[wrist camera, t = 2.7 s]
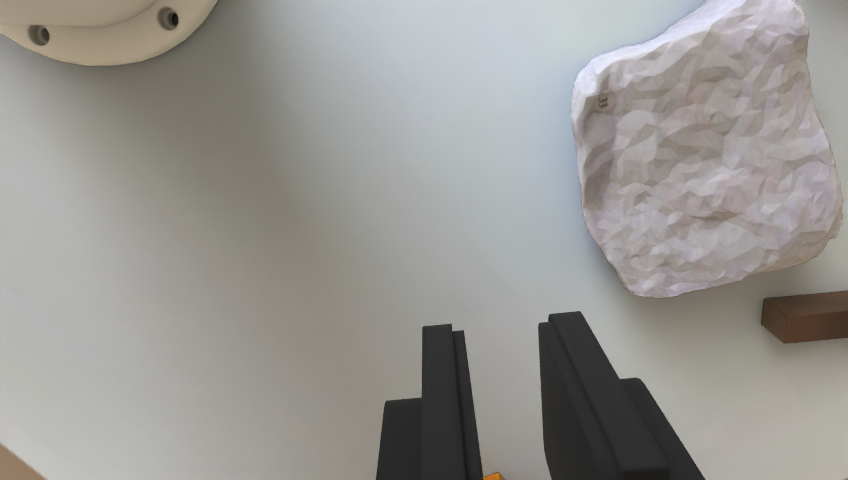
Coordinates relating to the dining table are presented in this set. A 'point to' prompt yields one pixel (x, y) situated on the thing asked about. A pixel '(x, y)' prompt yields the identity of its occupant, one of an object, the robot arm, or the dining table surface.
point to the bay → (807, 317)
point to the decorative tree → (493, 477)
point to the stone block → (706, 151)
